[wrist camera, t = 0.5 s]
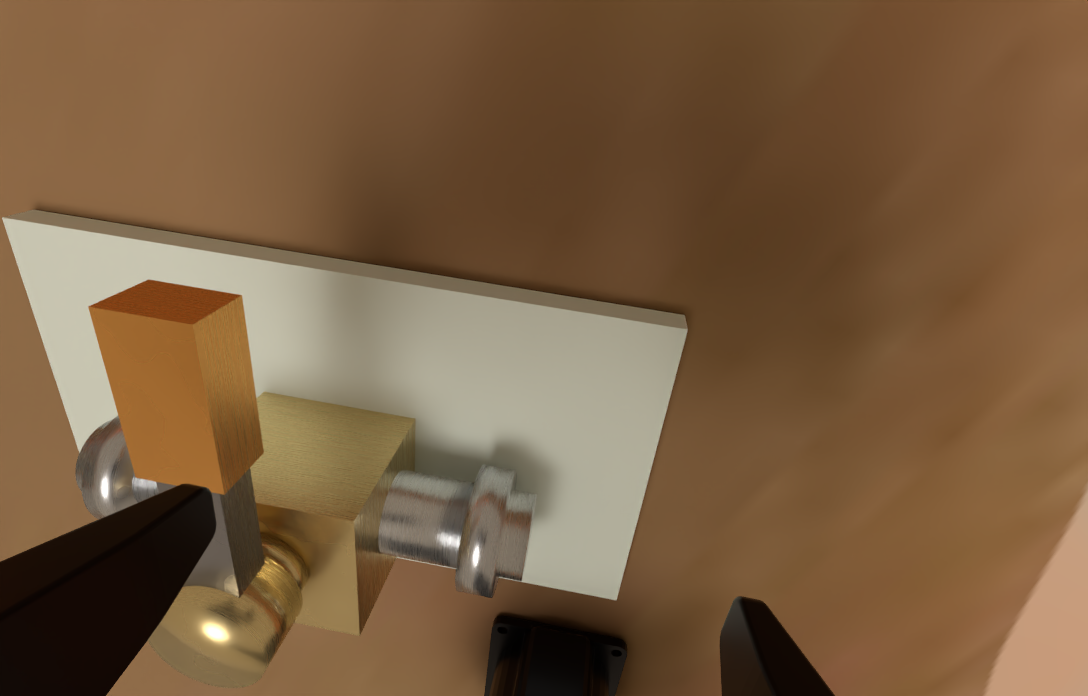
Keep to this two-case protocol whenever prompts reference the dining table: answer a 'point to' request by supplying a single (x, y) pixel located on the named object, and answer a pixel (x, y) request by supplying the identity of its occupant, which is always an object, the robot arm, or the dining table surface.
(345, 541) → the valve
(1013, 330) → the dining table surface
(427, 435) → the board
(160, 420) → the lever
